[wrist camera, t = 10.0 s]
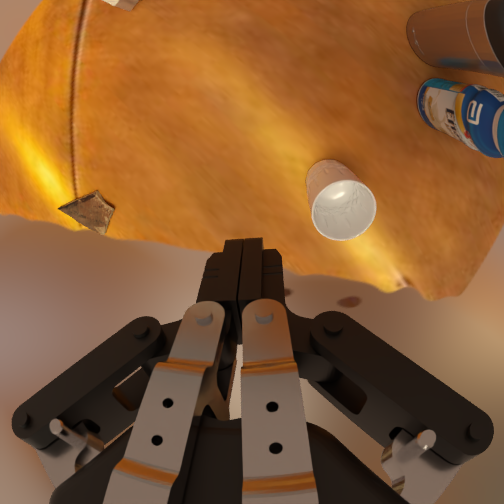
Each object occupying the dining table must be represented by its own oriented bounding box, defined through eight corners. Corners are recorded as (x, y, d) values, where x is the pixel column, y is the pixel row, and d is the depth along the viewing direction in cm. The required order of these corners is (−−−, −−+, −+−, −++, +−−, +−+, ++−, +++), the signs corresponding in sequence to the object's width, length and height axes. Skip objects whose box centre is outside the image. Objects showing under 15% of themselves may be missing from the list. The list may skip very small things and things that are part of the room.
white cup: (313, 212, 43) (325, 250, 35) (292, 168, 39) (300, 196, 31) (360, 192, 40) (383, 226, 32) (342, 146, 37) (365, 169, 28)
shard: (61, 205, 44) (56, 209, 42) (70, 171, 40) (64, 175, 38) (106, 233, 47) (102, 238, 45) (119, 200, 43) (114, 205, 42)
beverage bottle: (465, 104, 30) (558, 144, 13) (439, 140, 34) (527, 197, 18) (432, 65, 27) (532, 83, 11) (404, 104, 32) (498, 141, 15)
